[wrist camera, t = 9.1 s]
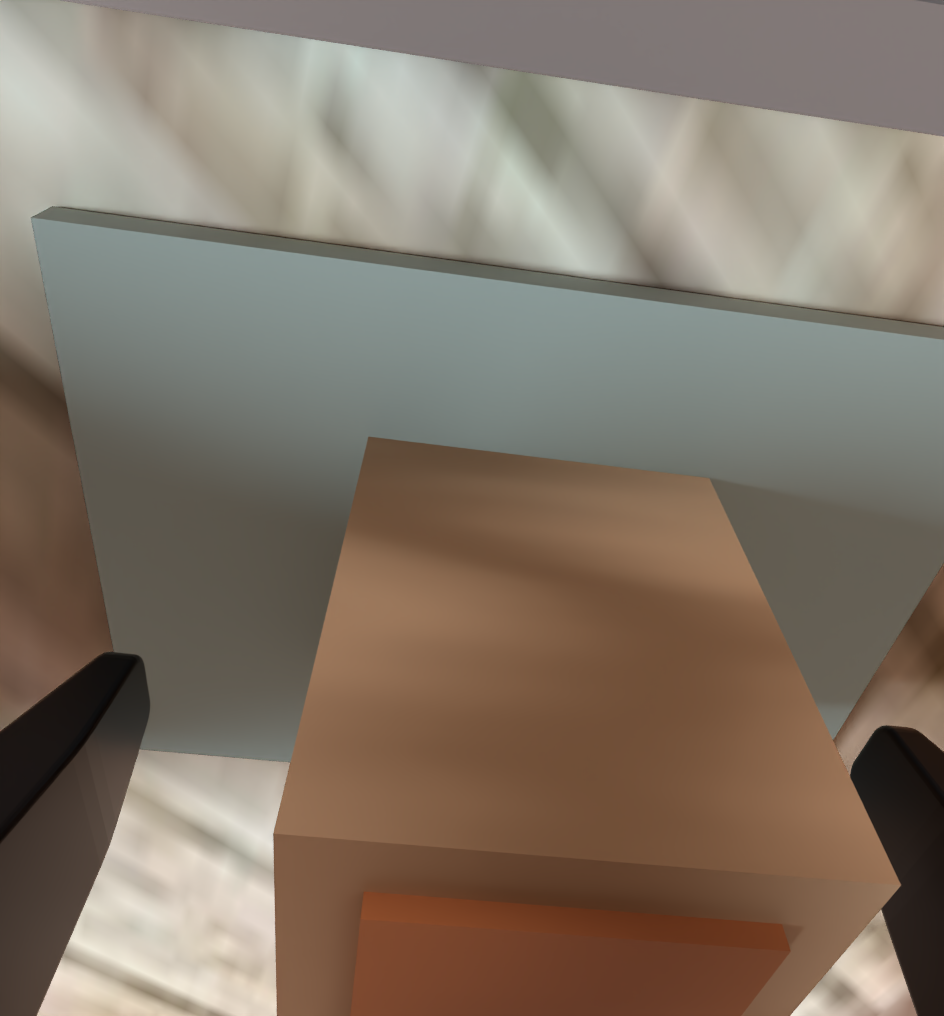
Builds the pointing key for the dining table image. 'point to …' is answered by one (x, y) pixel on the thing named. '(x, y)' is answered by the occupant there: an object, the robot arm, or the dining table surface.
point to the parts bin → (648, 45)
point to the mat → (455, 441)
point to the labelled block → (558, 760)
